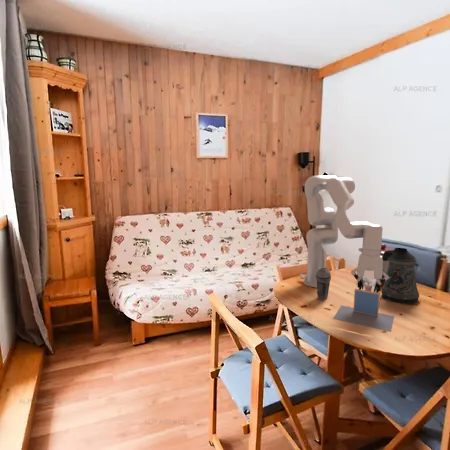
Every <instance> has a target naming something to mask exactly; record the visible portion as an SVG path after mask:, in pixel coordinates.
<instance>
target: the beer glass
mask: <svg viewBox="0 0 450 450" xmlns="http://www.w3.org/2000/svg"><path fill="white" fill-rule="evenodd" d="M377 283H378V282H377V279H374V271H370V270H365V272H364V277H361V285H362V287H361V290H366V291H371V292H376V289H377Z"/></svg>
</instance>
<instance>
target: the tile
mask: <svg viewBox="0 0 450 450" xmlns="http://www.w3.org/2000/svg"><path fill="white" fill-rule="evenodd" d="M353 297H354V298H353V308H354V309H353V311H355V312H360V313H365V314H370V315H375V316H378V314H379V313H380V312H379V311H380V310H379V309H380V297H381V292H378V293H377V292H376V291H375V292H371V291H366V290H362V289H361V290H360V289H359V288H355V289H354V295H353Z"/></svg>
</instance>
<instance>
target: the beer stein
mask: <svg viewBox="0 0 450 450" xmlns="http://www.w3.org/2000/svg"><path fill="white" fill-rule="evenodd" d="M393 249H394V250H387V251H385V253H384V254H383V255H381V256H382V259H383V261H389V266H388V270H387V274H388V275H389V276H390V278H389V279H388V280H386V281H385V282H384V283H383V286H381V289H380V293H381V297H382V298H383V299H384V300H385V301H387V302H391V303H397V304H403V305H409V306H410V305H411V306H413V305H415V304H417V303H418V301H419V298H420V292H419V290H418V285H417V279H416V269H415V265H416V263H417V258H416V256H414V255H413V254H412V253H410V252H409V251H408V248H405V247H395V248H393ZM383 278H385V276H384V275H382V279H383Z"/></svg>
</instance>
